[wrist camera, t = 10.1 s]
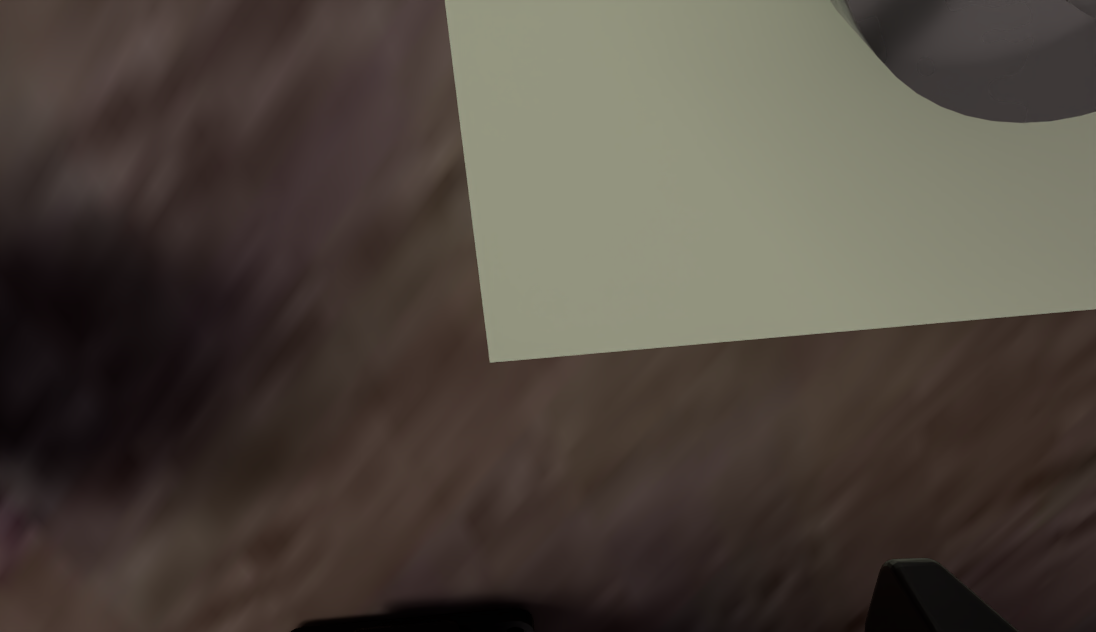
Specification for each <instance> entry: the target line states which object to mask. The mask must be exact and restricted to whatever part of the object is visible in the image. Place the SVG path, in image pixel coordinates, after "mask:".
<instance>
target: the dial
mask: <svg viewBox="0 0 1096 632" xmlns="http://www.w3.org/2000/svg"><path fill="white" fill-rule="evenodd" d="M830 1H831V3H832V4H833V6H834V7H835V9H836V10H837V12H838V13H839V14H840V15H841V16H842V17H843V18H844V20H845V21H846V22H847V23H848V24H849V25H850V26H851V28H852V29H853V30H854V31H855V32H856V33H857V34H858V35H859V37H860V38H861V39H862V40H863V41H864V42H865V43H866V44H867V46H868V47H869V48H870V49H871V50H872V51H873V52H874V53H875V55H876V56H877V57H878V58H879V59H880V60H881V61H882V62H883V63H884V64H885V66H886V67H887V68H888V69H889V70H890V71H891V72H892V73H893V74H894V75H895V76H896V77H897V78H898V79H899V80H900V81H902V82H903V83H904V84H905V85H907V86H908V87H909V88H911V89H912V90H913V91H914V92H916V93H917V94H919V95H920V96H922V97H924V98H926V99H928V100H930V101H931V102H933V103H935V104H937V105H939V106H941V107H943V108H946V109H949V110H951V111H954V112H957V113H960V114H963V115H965V116H970V117H975V118H980V119H984V120H989V121H997V122H1012V123H1031V122H1048V121H1055V120H1061V119H1066V118H1072V117H1078V116H1082V115H1086V114H1089V113H1093V112H1096V0H830Z"/></svg>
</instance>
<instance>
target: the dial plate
mask: <svg viewBox="0 0 1096 632" xmlns="http://www.w3.org/2000/svg"><path fill="white" fill-rule="evenodd" d="M445 6H446V14H447V22H448V30H449V38H450V46H451V54H452V62H453V70H454V78H455V86H456V94H457V102H458V110H459V118H460V126H461V134H462V142H463V150H464V158H465V166H466V174H467V182H468V191H469V199H470V207H471V215H472V223H473V231H474V239H475V247H476V255H477V263H478V271H479V279H480V287H481V295H482V303H483V311H484V319H485V327H486V335H487V343H488V351H489V359H490V363H491V362H502V361H513V360H525V359H536V358H547V357H558V356H570V355H581V354H592V353H604V352H615V351H626V350H638V349H649V348H660V347H672V346H683V345H694V344H706V343H717V342H728V341H739V340H751V339H762V338H773V337H785V336H796V335H807V334H819V333H830V332H841V331H853V330H864V329H875V328H887V327H898V326H909V325H921V324H932V323H943V322H954V321H966V320H977V319H988V318H1000V317H1011V316H1022V315H1034V314H1045V313H1056V312H1068V311H1079V310H1090V309H1096V112H1093V113H1089V114H1086V115H1082V116H1078V117H1072V118H1066V119H1061V120H1055V121H1048V122H1031V123H1012V122H997V121H989V120H984V119H980V118H975V117H970V116H965V115H963V114H960V113H957V112H954V111H951V110H949V109H946V108H943V107H941V106H939V105H937V104H935V103H933V102H931V101H930V100H928V99H926V98H924V97H922V96H920V95H919V94H917V93H916V92H914V91H913V90H912V89H911V88H909V87H908V86H907V85H905V84H904V83H903V82H902V81H900V80H899V79H898V78H897V77H896V76H895V75H894V74H893V73H892V72H891V71H890V70H889V69H888V68H887V67H886V66H885V64H884V63H883V62H882V61H881V60H880V59H879V58H878V57H877V56H876V55H875V53H874V52H873V51H872V50H871V49H870V48H869V47H868V46H867V44H866V43H865V42H864V41H863V40H862V39H861V38H860V37H859V35H858V34H857V33H856V32H855V31H854V30H853V29H852V28H851V26H850V25H849V24H848V23H847V22H846V21H845V20H844V18H843V17H842V16H841V15H840V14H839V13H838V12H837V10H836V9H835V7H834V6H833V4H832V3H831V1H830V0H445Z"/></svg>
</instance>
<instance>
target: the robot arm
mask: <svg viewBox="0 0 1096 632" xmlns="http://www.w3.org/2000/svg"><path fill="white" fill-rule="evenodd" d="M291 632H535V629H534V620H533V617H532V615H531V614H530V613H529V612H528V611H526V610H523V609H515V608H512V609H501V610H490V611H479V612H468V613H457V614H446V615H435V616H424V617H413V618H402V619H391V620H381V621H370V622H359V623H348V624H337V625H326V626H315V627H304V628H298V629H294V630H292V631H291ZM865 632H1019V631H1018V630H1017V629H1015V628H1014V627H1013V626H1012V625H1011V624H1010V623H1008V622H1007V621H1006V620H1005V619H1004V618H1003V617H1001V616H1000V615H999V614H998V613H997V612H996V611H994V610H993V609H992V608H991V607H990V606H989V605H988V604H986V603H985V602H984V601H983V600H982V599H981V598H979V597H978V596H977V595H976V594H975V593H974V592H972V591H971V590H970V589H969V588H968V587H967V586H965V585H964V584H963V583H962V582H961V581H960V580H959V579H957V578H956V577H955V576H954V575H953V574H952V573H950V572H949V571H948V570H947V569H946V568H945V567H943V566H942V565H941V564H940V563H938V562H936V561H934V560H932V559H929V558H909V559H891V560H888V561H886V562H885V563H884V564H883V566H882V567H881V569H880V572H879V575H878V579H877V582H876V586H875V589H874V593H873V597H872V600H871V604H870V607H869V611H868V614H867V618H866V623H865Z"/></svg>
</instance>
